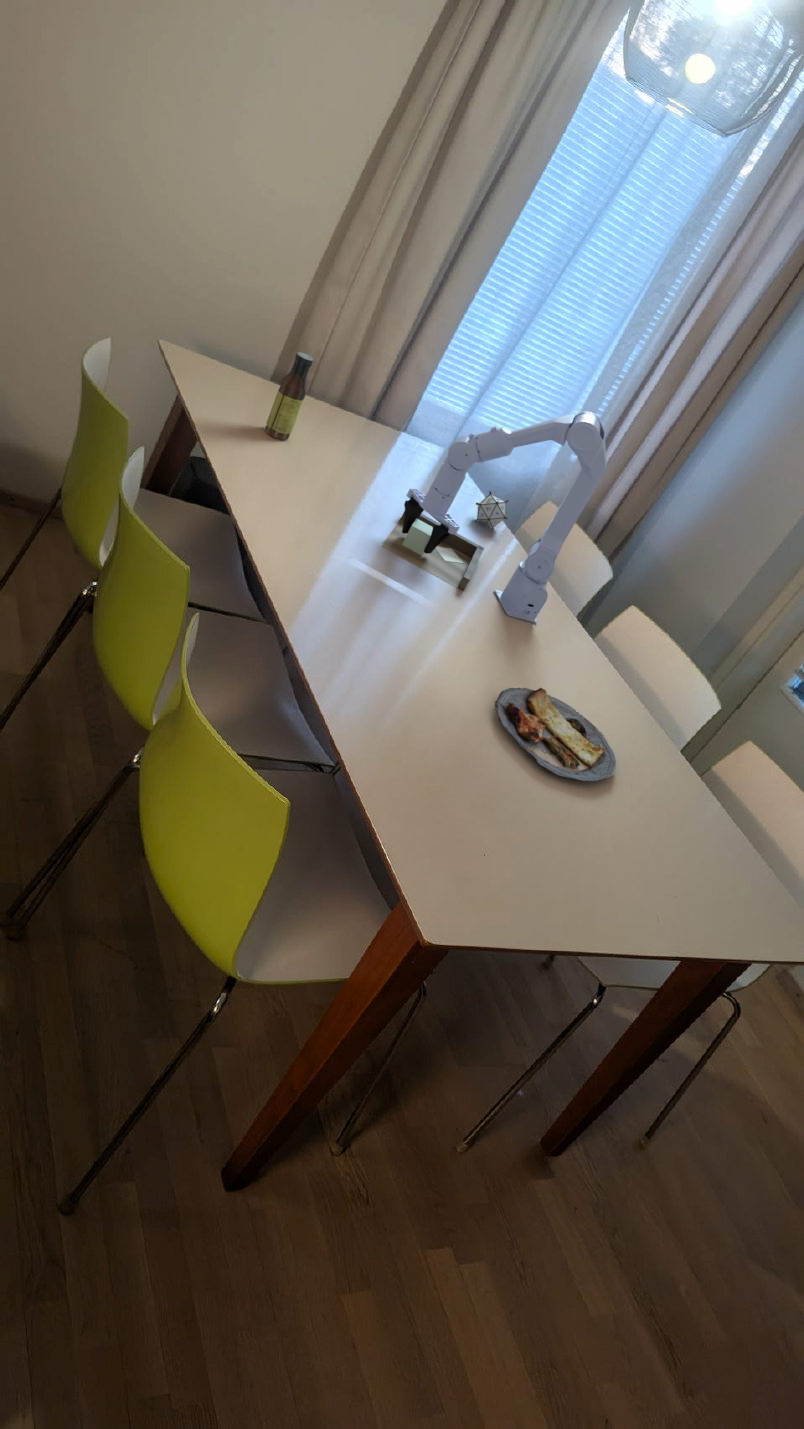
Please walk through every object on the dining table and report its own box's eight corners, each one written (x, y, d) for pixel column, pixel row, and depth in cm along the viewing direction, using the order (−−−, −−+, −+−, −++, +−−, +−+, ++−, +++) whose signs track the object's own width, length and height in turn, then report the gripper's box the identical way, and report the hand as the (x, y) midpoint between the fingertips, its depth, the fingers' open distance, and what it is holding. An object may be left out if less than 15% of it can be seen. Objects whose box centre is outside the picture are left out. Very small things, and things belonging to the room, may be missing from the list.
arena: (461, 595, 225) (469, 580, 223) (379, 550, 224) (387, 534, 222) (476, 562, 242) (484, 548, 240) (400, 520, 241) (407, 505, 239)
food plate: (469, 702, 191) (478, 688, 189) (541, 688, 208) (550, 675, 206) (560, 800, 180) (571, 786, 178) (628, 777, 198) (638, 763, 196)
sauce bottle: (293, 440, 250) (325, 364, 239) (277, 442, 245) (310, 364, 234) (273, 425, 251) (304, 349, 241) (257, 427, 246) (288, 349, 236)
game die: (479, 540, 263) (492, 523, 254) (462, 512, 264) (474, 493, 255) (507, 527, 266) (521, 509, 257) (490, 499, 267) (503, 480, 258)
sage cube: (422, 555, 229) (432, 536, 226) (401, 544, 229) (411, 525, 226) (426, 548, 233) (436, 529, 231) (406, 537, 233) (416, 518, 230)
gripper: (477, 508, 223) (449, 560, 231) (432, 470, 229) (406, 522, 236) (458, 509, 218) (429, 562, 225) (412, 470, 224) (386, 523, 231)
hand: (416, 542), depth 230 cm, fingers closed on sage cube, 7 cm apart
